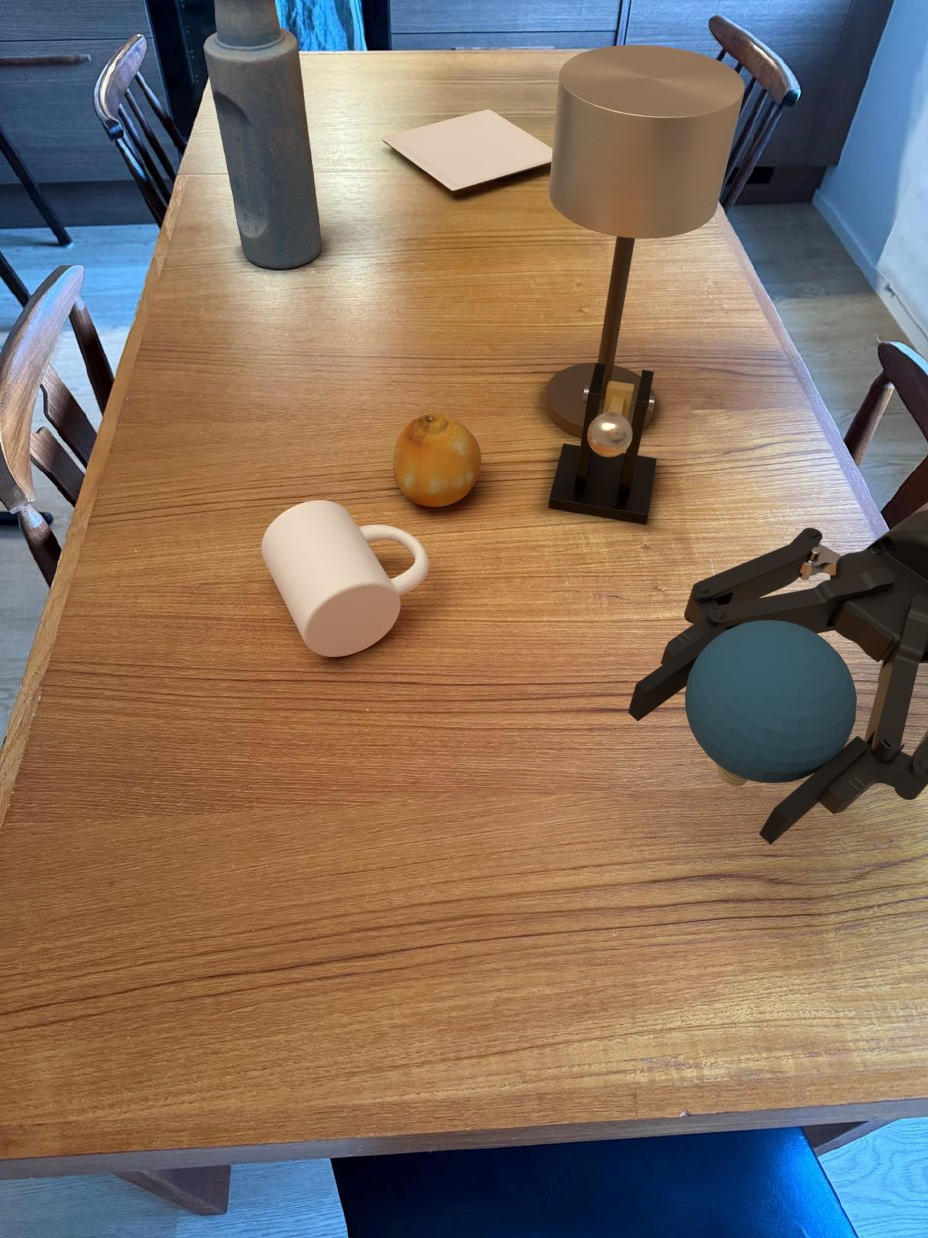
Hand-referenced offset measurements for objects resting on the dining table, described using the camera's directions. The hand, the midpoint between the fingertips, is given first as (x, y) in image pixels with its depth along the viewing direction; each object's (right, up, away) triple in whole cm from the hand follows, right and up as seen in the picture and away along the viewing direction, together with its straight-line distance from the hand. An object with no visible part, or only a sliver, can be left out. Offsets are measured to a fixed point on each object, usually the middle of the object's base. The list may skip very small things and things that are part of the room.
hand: (701, 761), depth 45 cm
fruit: (-15, +19, +38) cm, 45 cm away
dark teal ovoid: (+4, -2, +7) cm, 8 cm away
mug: (-21, +9, +29) cm, 37 cm away
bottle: (-34, +52, +65) cm, 90 cm away
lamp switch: (0, +22, +26) cm, 34 cm away
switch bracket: (+1, +20, +39) cm, 43 cm away
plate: (-11, +72, +81) cm, 109 cm away
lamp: (+2, +29, +46) cm, 55 cm away
